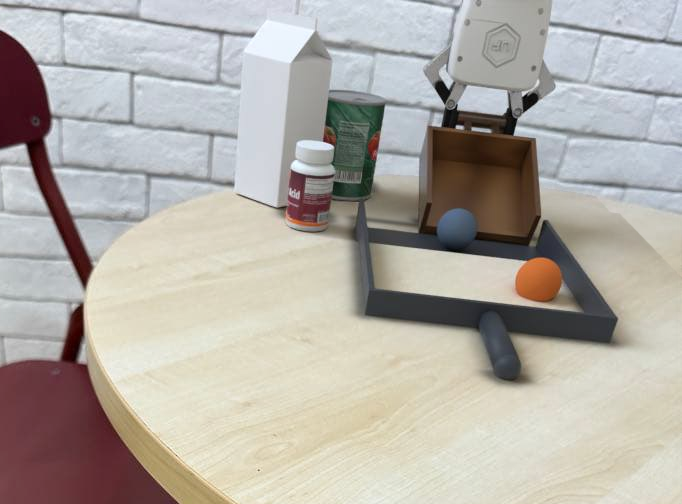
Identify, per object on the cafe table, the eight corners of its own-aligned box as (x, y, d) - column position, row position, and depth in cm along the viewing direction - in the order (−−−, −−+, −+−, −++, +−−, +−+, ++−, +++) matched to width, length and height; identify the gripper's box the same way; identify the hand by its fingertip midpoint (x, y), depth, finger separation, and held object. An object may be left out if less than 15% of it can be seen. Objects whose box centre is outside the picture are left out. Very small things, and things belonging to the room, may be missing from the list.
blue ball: (470, 238, 93) (480, 203, 90) (472, 260, 91) (483, 224, 87) (432, 234, 93) (441, 198, 90) (433, 255, 91) (443, 219, 87)
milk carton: (276, 209, 98) (294, 18, 87) (233, 193, 102) (245, 8, 90) (316, 201, 103) (338, 18, 91) (273, 186, 106) (289, 8, 95)
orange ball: (552, 277, 82) (569, 250, 78) (552, 315, 81) (569, 290, 77) (509, 272, 82) (523, 245, 78) (508, 310, 81) (523, 284, 77)
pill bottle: (280, 218, 95) (288, 138, 90) (320, 219, 97) (330, 140, 92) (290, 232, 92) (299, 149, 87) (332, 233, 93) (343, 151, 88)
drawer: (522, 153, 103) (536, 116, 99) (528, 247, 96) (543, 212, 91) (419, 140, 103) (429, 103, 98) (417, 234, 96) (427, 198, 91)
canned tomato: (297, 184, 108) (308, 88, 101) (348, 182, 111) (362, 89, 105) (331, 202, 103) (344, 102, 96) (383, 199, 106) (399, 102, 100)
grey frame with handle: (354, 228, 95) (359, 197, 93) (539, 249, 96) (547, 220, 94) (366, 378, 64) (374, 338, 62) (639, 409, 65) (655, 370, 63)
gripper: (438, -41, 87) (404, 146, 98) (602, -20, 88) (550, 165, 99) (431, -45, 94) (400, 132, 104) (585, -24, 94) (537, 150, 105)
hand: (473, 146), depth 101 cm, fingers closed on drawer, 5 cm apart
